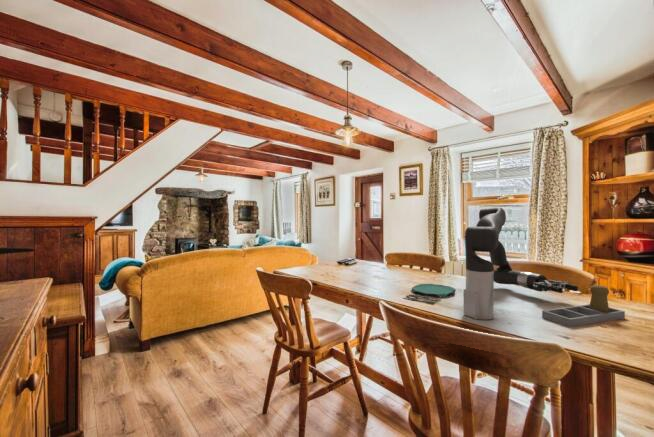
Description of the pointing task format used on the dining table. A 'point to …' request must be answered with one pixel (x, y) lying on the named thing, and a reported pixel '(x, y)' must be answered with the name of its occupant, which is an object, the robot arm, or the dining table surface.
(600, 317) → the frame
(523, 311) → the dining table surface
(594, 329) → the dining table surface
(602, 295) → the cork
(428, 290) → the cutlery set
